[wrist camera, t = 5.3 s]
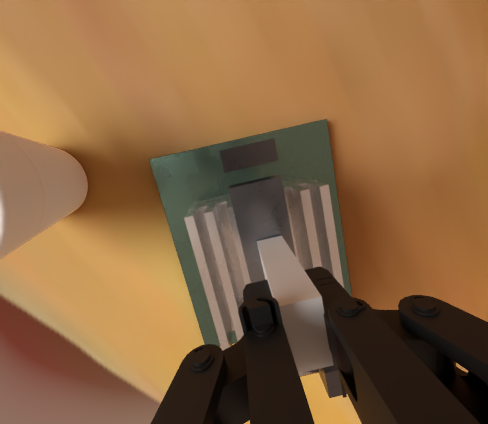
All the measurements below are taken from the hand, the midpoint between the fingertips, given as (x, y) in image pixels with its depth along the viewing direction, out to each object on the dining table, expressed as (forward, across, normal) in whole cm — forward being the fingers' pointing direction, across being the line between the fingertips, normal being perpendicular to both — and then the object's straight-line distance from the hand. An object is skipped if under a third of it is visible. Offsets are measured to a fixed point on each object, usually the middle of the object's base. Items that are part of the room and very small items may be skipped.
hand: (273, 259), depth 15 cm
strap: (+2, 0, -2) cm, 3 cm away
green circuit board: (+10, 0, -2) cm, 10 cm away
